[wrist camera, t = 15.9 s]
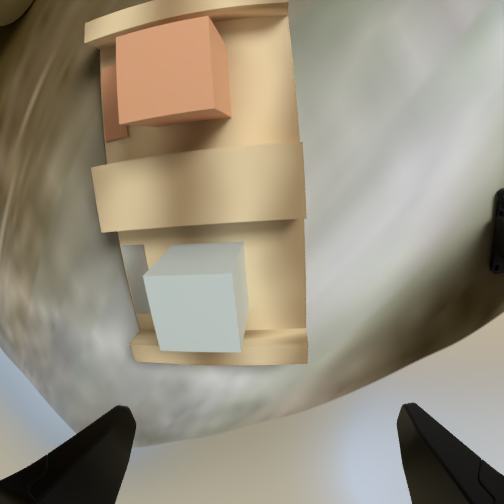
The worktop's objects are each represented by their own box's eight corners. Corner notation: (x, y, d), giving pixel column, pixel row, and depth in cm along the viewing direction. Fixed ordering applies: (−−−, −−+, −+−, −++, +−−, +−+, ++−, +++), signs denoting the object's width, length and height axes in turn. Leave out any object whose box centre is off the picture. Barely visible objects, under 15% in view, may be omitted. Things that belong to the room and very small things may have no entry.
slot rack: (284, 1, 15) (285, -19, 12) (305, 337, 23) (307, 363, 20) (107, 34, 16) (85, 23, 14) (149, 338, 24) (135, 361, 21)
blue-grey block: (249, 306, 21) (241, 352, 16) (183, 307, 21) (160, 350, 17) (243, 241, 20) (232, 273, 15) (172, 244, 20) (142, 276, 15)
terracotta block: (231, 117, 17) (214, 108, 12) (157, 127, 18) (119, 124, 13) (225, 45, 16) (208, 15, 11) (153, 58, 16) (116, 37, 11)
